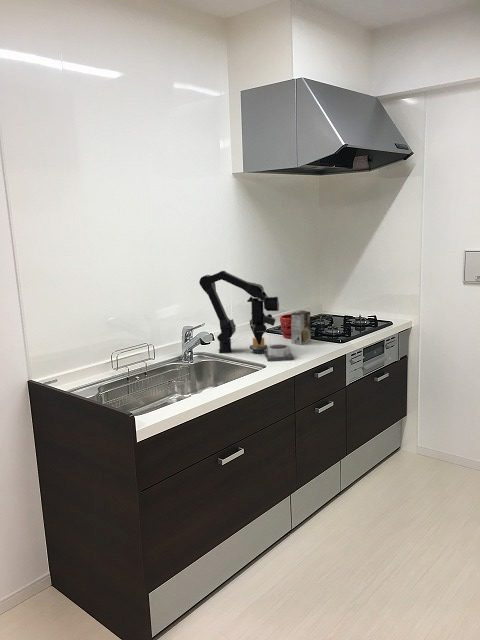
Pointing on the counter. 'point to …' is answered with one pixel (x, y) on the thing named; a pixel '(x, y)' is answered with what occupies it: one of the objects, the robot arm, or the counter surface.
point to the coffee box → (300, 327)
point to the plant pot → (287, 327)
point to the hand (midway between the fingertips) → (258, 342)
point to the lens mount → (278, 353)
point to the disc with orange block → (258, 346)
